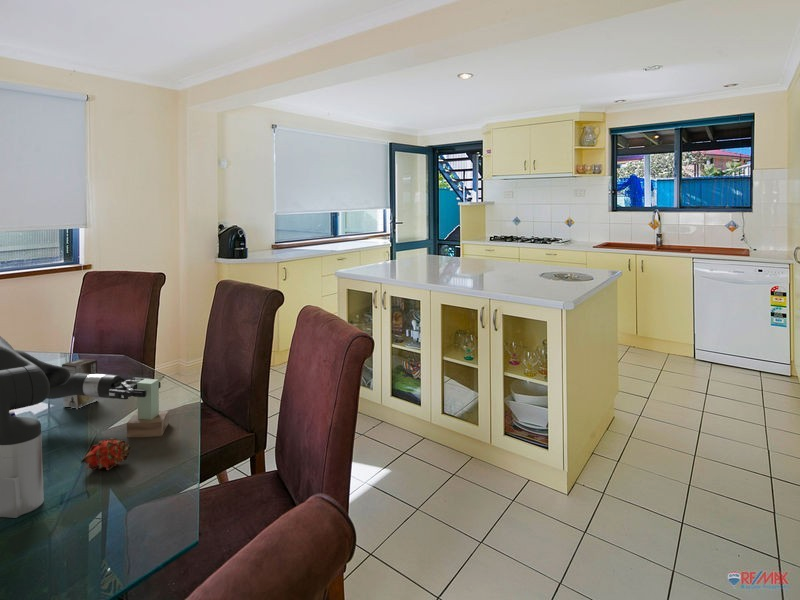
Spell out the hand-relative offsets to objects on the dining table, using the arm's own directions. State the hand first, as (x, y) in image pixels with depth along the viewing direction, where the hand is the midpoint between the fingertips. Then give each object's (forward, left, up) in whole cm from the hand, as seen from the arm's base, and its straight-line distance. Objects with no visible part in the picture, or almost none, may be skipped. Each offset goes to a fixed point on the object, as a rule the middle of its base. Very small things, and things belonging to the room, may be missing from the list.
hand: (153, 389), depth 154 cm
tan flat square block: (0, +2, -14) cm, 14 cm away
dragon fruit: (-25, 0, -14) cm, 29 cm away
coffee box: (+17, +36, -14) cm, 42 cm away
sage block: (0, +2, -9) cm, 10 cm away
